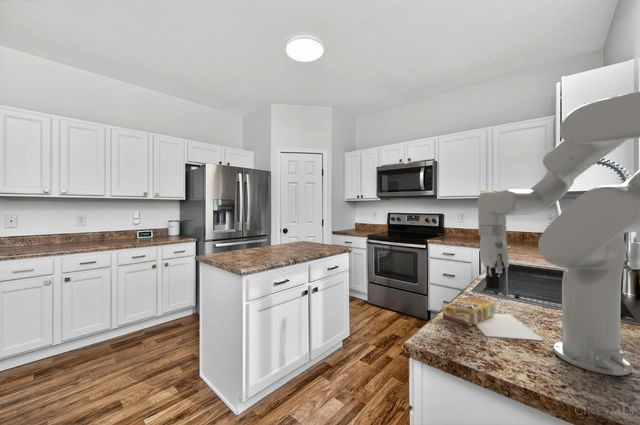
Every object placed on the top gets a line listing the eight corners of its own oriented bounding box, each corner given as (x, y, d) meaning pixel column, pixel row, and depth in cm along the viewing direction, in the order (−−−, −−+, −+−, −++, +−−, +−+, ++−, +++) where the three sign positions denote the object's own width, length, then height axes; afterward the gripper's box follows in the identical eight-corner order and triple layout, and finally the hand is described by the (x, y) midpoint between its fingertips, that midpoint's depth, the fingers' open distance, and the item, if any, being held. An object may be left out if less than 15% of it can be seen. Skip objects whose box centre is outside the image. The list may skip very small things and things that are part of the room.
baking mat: (543, 341, 71) (543, 340, 71) (485, 336, 74) (485, 335, 74) (510, 315, 88) (510, 314, 88) (464, 312, 91) (464, 311, 91)
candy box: (495, 301, 87) (468, 313, 79) (496, 314, 87) (469, 327, 79) (468, 295, 95) (441, 305, 87) (469, 307, 95) (442, 318, 87)
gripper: (517, 232, 77) (518, 295, 78) (494, 229, 92) (495, 282, 92) (488, 232, 79) (489, 294, 79) (471, 229, 94) (471, 281, 94)
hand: (492, 287), depth 86 cm, fingers closed
